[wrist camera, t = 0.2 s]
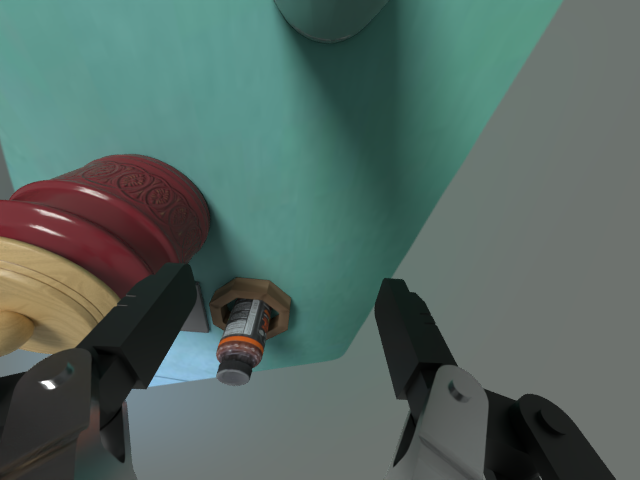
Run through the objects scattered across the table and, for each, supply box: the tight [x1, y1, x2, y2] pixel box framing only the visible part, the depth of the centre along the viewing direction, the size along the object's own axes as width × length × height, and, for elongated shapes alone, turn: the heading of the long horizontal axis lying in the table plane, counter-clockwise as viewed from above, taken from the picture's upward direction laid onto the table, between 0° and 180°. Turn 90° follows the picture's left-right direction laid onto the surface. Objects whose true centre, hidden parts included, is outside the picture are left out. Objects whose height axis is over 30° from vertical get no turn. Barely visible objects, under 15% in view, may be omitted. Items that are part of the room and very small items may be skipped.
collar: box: [209, 277, 291, 340], centre depth 36 cm, size 12×12×2 cm
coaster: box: [180, 282, 210, 333], centre depth 37 cm, size 12×12×1 cm
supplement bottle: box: [216, 298, 272, 386], centre depth 32 cm, size 6×6×11 cm
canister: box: [0, 154, 210, 357], centre depth 20 cm, size 13×13×18 cm
